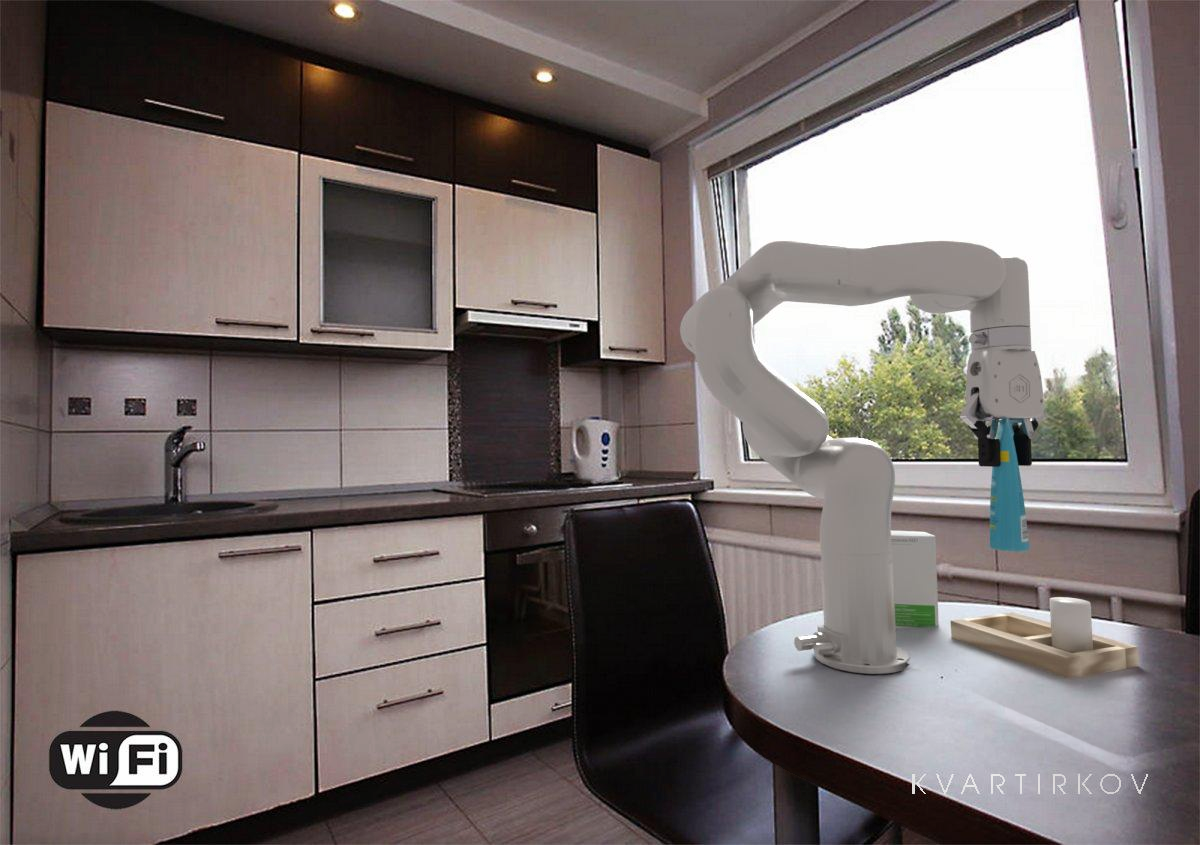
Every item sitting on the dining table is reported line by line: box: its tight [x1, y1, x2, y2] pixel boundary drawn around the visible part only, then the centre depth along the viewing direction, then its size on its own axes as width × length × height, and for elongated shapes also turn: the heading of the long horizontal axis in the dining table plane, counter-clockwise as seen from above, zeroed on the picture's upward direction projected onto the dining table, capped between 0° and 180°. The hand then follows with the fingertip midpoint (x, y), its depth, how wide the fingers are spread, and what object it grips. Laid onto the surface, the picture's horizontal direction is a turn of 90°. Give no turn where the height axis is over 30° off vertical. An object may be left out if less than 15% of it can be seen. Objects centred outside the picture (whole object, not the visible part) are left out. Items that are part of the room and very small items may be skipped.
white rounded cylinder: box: [1049, 596, 1093, 653], centre depth 84 cm, size 4×4×8 cm
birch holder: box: [950, 612, 1140, 679], centre depth 89 cm, size 12×18×4 cm, turn 16°
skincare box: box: [891, 530, 940, 631], centre depth 106 cm, size 8×7×16 cm
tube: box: [989, 418, 1030, 553], centre depth 93 cm, size 7×5×19 cm, turn 160°
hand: (1005, 464), depth 93 cm, fingers closed on tube, 5 cm apart
